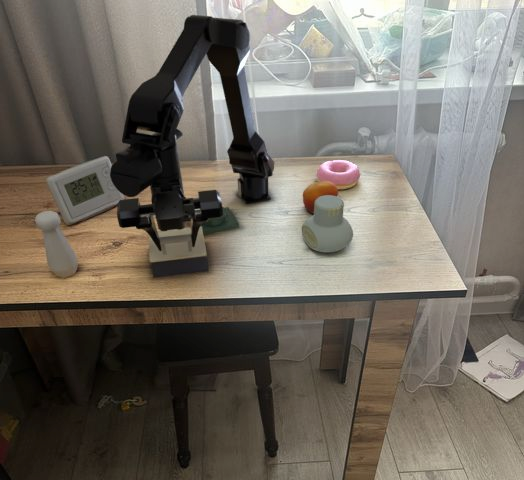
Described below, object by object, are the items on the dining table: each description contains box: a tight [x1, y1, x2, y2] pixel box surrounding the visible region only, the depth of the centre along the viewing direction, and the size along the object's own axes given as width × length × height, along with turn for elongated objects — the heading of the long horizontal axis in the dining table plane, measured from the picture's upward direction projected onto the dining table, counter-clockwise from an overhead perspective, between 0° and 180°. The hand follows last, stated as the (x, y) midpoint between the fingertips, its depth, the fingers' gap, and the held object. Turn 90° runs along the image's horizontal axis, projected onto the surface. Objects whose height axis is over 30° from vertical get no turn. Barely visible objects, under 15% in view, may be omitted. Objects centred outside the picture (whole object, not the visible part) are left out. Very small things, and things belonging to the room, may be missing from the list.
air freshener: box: [301, 195, 354, 253], centre depth 104 cm, size 11×8×10 cm
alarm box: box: [188, 206, 240, 236], centre depth 114 cm, size 10×8×3 cm
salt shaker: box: [34, 210, 79, 279], centre depth 98 cm, size 6×6×13 cm
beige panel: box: [148, 226, 208, 264], centre depth 100 cm, size 10×11×4 cm
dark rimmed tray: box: [150, 255, 210, 279], centre depth 103 cm, size 10×11×4 cm
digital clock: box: [45, 155, 125, 226], centre depth 117 cm, size 16×9×11 cm, turn 124°
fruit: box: [302, 181, 339, 214], centre depth 116 cm, size 8×8×8 cm
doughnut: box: [315, 159, 362, 190], centre depth 126 cm, size 11×11×4 cm
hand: (176, 248), depth 98 cm, fingers closed on beige panel, 6 cm apart
